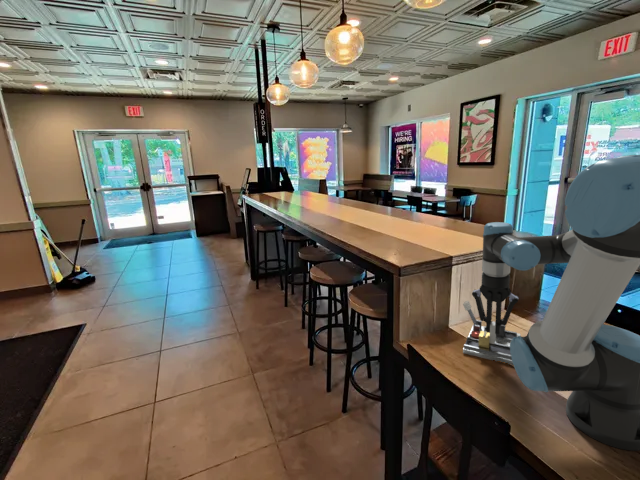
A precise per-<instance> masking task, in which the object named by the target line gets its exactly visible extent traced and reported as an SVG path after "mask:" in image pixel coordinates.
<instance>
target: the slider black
mask: <svg viewBox="0 0 640 480" xmlns="http://www.w3.org/2000/svg"><path fill="white" fill-rule="evenodd" d="M505 330H506V325H500V333H499V334H496V336H500V337H504V335H505Z"/></svg>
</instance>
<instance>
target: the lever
mask: <svg viewBox="0 0 640 480" xmlns="http://www.w3.org/2000/svg"><path fill="white" fill-rule="evenodd" d="M462 305H463V308H464V310H465V311H467V312H468V315H469V316H470V319H471V321H472V323H473V325H479V324H478V323H477V321H476V320H477V318H476V317H475V314H474V312H473V310H472V305H471V302H470V301H469V300H466V301H463V303H462Z"/></svg>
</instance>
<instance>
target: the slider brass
mask: <svg viewBox="0 0 640 480" xmlns="http://www.w3.org/2000/svg"><path fill="white" fill-rule="evenodd" d="M489 340H490V333H489V332H486V331H485V332H484V331H480V334H479V348H483V349H488V350H489V348H490V343H489Z"/></svg>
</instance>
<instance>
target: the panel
mask: <svg viewBox="0 0 640 480" xmlns="http://www.w3.org/2000/svg"><path fill="white" fill-rule="evenodd" d="M476 321H477V323H478V324H479V325H474V324H472V325H471V326H472V327H471V329H470V331H469V334H468V336H467V337H466V341H465V343H464V344H463V348H462V353H463V354H465V355H466V354H467V355H470V356H473V357H478V358H482V359H486V360H490V361H493V360H495V361H494V362H497V361H501V362H505V363H508V364H507V365H509V364H511V365H510V366H513V362H512V358H511V353H510V342H511V340H512V338H514V337H518V336H521V333H520V332H516V331H512V330H506V329H505V335H504V337H500V336H496V341H495V344H491V343H490V348H489V350H488V349H483V348H479V334H480V331H484V332H485V331H486V325H485V326H483V325H482V323H483V321H481V320H478V319H476ZM486 332H487V331H486ZM501 362H500V363H501ZM505 363H504V364H505Z"/></svg>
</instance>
